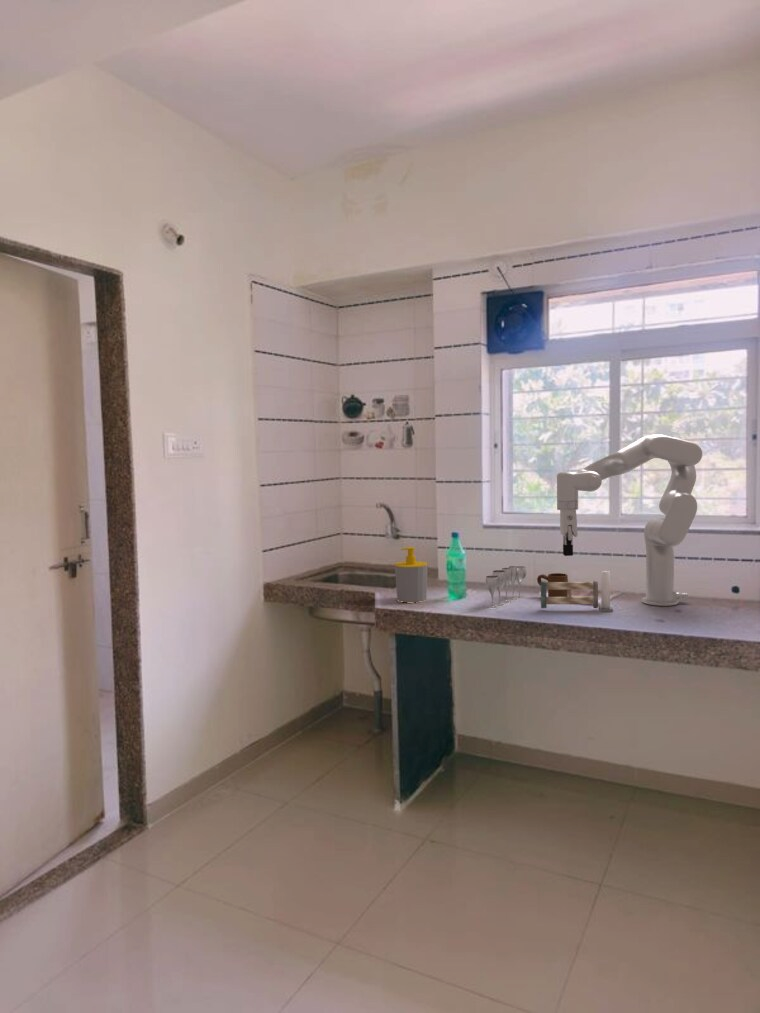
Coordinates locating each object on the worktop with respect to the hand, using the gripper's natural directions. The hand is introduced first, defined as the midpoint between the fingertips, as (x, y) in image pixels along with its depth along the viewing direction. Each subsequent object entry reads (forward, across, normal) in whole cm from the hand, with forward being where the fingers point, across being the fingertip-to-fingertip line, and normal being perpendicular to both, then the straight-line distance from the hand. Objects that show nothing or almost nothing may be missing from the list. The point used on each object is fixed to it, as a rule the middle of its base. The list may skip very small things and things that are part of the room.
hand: (568, 554), depth 253 cm
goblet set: (+19, +7, +22) cm, 30 cm away
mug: (+19, +14, +4) cm, 24 cm away
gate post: (+19, -7, -12) cm, 24 cm away
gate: (+18, -7, +1) cm, 19 cm away
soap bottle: (+19, +11, +59) cm, 63 cm away
